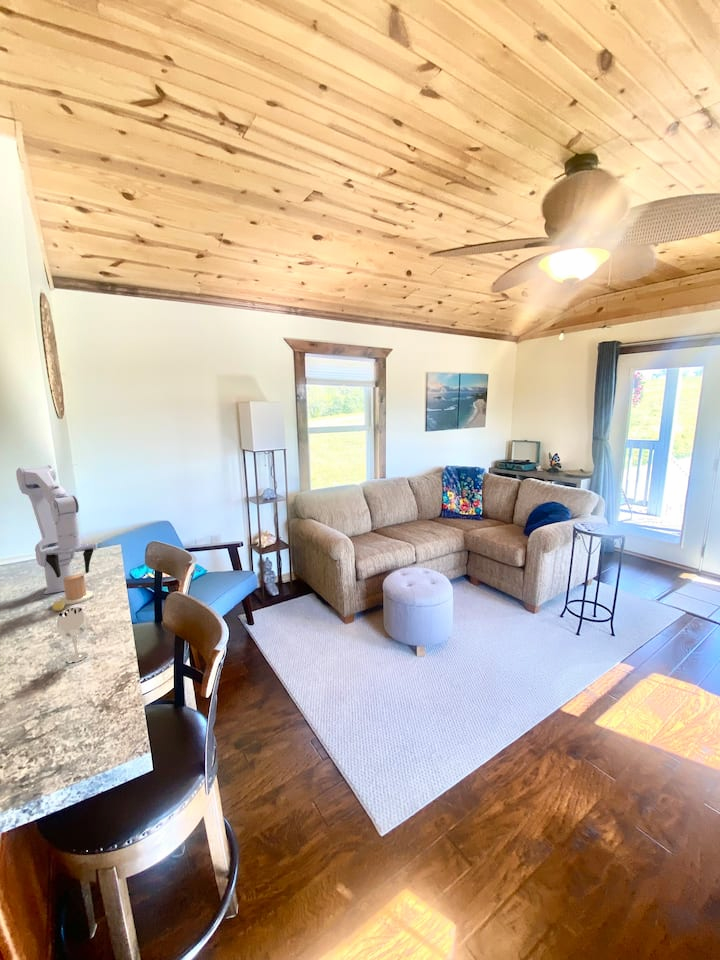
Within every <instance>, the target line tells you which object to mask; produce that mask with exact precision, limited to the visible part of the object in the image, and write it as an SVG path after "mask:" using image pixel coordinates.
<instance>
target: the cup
mask: <svg viewBox="0 0 720 960" xmlns="http://www.w3.org/2000/svg"><path fill="white" fill-rule="evenodd" d="M63 580H64V589H65V591H64V594H65V595H64V596H66V599H67V600H76V599H80V598H82V597H84V596H86V594H87V593H86V591H87V587H86V579H85V575H84V574H82V573H77V574H72V575H71V576H68V577H66V578H64V579H63Z"/></svg>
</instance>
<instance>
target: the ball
mask: <svg viewBox="0 0 720 960" xmlns="http://www.w3.org/2000/svg"><path fill="white" fill-rule="evenodd" d="M65 606H66V605H65V604H64V602H63V601H60V600H57V601H54V603H53V604H52V609H53V611H54V612H55V611H56V612H61V611H63V609H64V608H65Z"/></svg>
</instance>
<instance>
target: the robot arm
mask: <svg viewBox="0 0 720 960" xmlns="http://www.w3.org/2000/svg"><path fill="white" fill-rule="evenodd" d="M56 475H57V474H56V470H55V468H54V466H52V465H51V464H48V465H41V466H40V465H39V466H33V467H32V466H28V467H18V468H17V469H16V481H17V484H18V487H19V490H20V491H21V494H24V495H25V496H28V499H29V500H30V503H31V506H32V508H33V512H34V516H35V519H36V522H37V525H38V529H39V533H40V535H41V540H40V541H39V542H37V544H36V545H35V548H34V550H35V551H34V552H35V558H36V563H37V564H38V566H40V567H42V568H43V570H44V575H45V582H46V589H45V591H44V592H43V594H44V595H47V594H55V593H59V592H65V589H64V580H63V579H64V578H66V577H68V576H71V575H73V569H72V564H71V563H72V560H73V559H74V558H75V555H76V553H77V552H78V553H79V552H83V554H82V556H83V561H84V568H85V569H84V570H85V571H84V572H85V574H88V573H89V571H90V564H91V563H90V562H91V559H92V555H93V553H94V551H97V549H98V543H97V542H90V543H88V542H87V543H81V540H80V539H81V538H80V533H79V532H80V531H79V524H78V515H77V514H78V512H79V510H80V509H79V508H80V506H79V502H78V498H77V497H76V496H75V495H73V494H69V493H68V492H67V491H66V490H65V488H64V487H63V486H62V485H59V484H57V483H56V480H57V479H56V478H57V477H56Z"/></svg>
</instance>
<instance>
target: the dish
mask: <svg viewBox="0 0 720 960" xmlns="http://www.w3.org/2000/svg"><path fill="white" fill-rule="evenodd" d="M86 593H87V594H86V596H84V597H82V598H80V599H76V600H67V599H66V596H65V595H63V596H62V597H60V598H59V601H63V602H64V604H65V606H68V605H69V606H70V605H76V604H80V603H84V602H86V601H88V600H90V599H91V598H93V597H94V593H93V591H91V590H86Z"/></svg>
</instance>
